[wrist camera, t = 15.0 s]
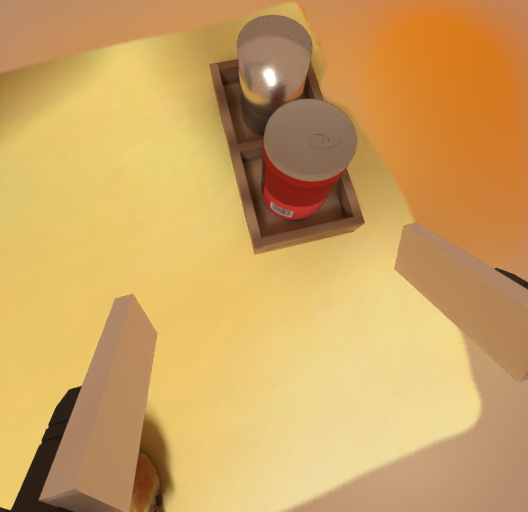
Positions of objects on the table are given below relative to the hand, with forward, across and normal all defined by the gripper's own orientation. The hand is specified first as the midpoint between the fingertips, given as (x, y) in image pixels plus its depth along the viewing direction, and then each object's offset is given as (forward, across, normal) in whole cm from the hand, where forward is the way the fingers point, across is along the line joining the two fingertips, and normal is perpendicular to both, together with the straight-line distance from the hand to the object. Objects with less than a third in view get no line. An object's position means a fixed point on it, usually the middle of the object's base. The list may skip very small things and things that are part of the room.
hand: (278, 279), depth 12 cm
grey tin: (+30, +7, +3) cm, 31 cm away
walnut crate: (+25, +7, -1) cm, 26 cm away
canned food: (+20, +7, -5) cm, 22 cm away
